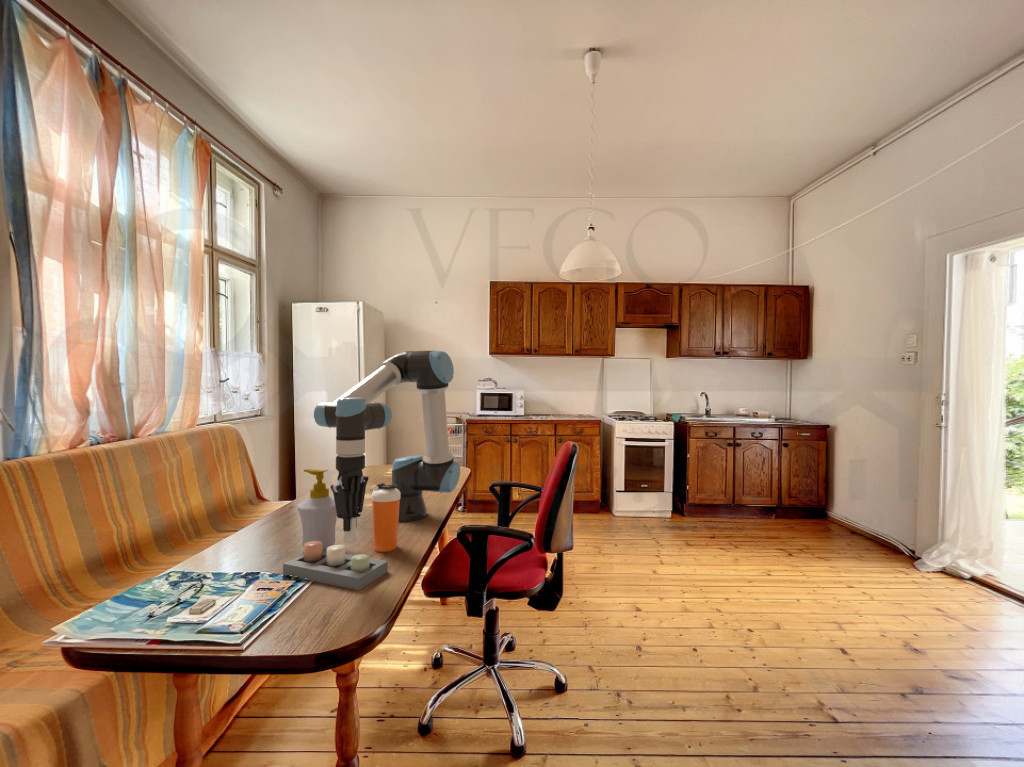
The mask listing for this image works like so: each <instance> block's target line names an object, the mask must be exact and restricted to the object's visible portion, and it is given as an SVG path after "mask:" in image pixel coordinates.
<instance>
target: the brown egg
mask: <svg viewBox="0 0 1024 767" xmlns="http://www.w3.org/2000/svg"><path fill="white" fill-rule="evenodd" d="M303 554H304V561H308V562H311V561H317V560H320V559H321V558H322V542H321V541H311V542H307V543H305V544H304V548H303Z"/></svg>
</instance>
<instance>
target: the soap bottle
mask: <svg viewBox="0 0 1024 767" xmlns="http://www.w3.org/2000/svg"><path fill="white" fill-rule="evenodd" d="M328 471H329V469H325V470H324V469H312V468H311V469H310V468H309V469H308V468H307V469H303V473H304V472H305V473H309V474H310V475H313V476H315V479H316V480H317V481H316V482H315V483H314V484H313V488H311V489H310V492H309V493H310V495H309V496H310V497H309V498H308V499H306V500H305V501H303V502H301V503H299V504H297V508H296V509H297V511H298V513H299V516H300V522H301V527H302V548H303V549H304V544H305V543H307V542H311V541H321V542H322V550H327V548H328V547H329V546H332V545H336V544H335V543H336V524H337V512H336V506H335V501H334V497H332V496H331V495H329V493H330V489H329V487H327V485H326V484H327V483H325V482H323V480H324V476H325V475H324V473H326V472H328Z"/></svg>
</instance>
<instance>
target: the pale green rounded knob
mask: <svg viewBox="0 0 1024 767" xmlns="http://www.w3.org/2000/svg"><path fill="white" fill-rule="evenodd" d="M354 555H355V556H353V557H351V571H355V572H360V573H363V572H364V571H366V570H368V569H369V568H370V558H371V557H370V555H369V554H365V553H363V554H354Z"/></svg>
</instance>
